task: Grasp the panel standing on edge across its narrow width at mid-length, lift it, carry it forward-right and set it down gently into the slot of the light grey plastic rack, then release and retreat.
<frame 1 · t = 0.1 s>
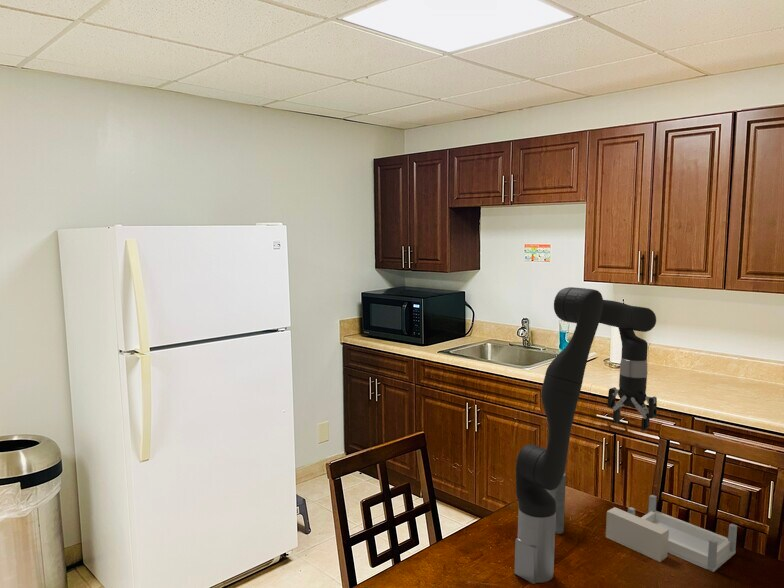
hand: (630, 426, 177), 29 cm above the table, fingers open, 8 cm apart
panel: (635, 547, 165), on the table
rack: (679, 543, 166), on the table
hip flask: (550, 520, 180), on the table
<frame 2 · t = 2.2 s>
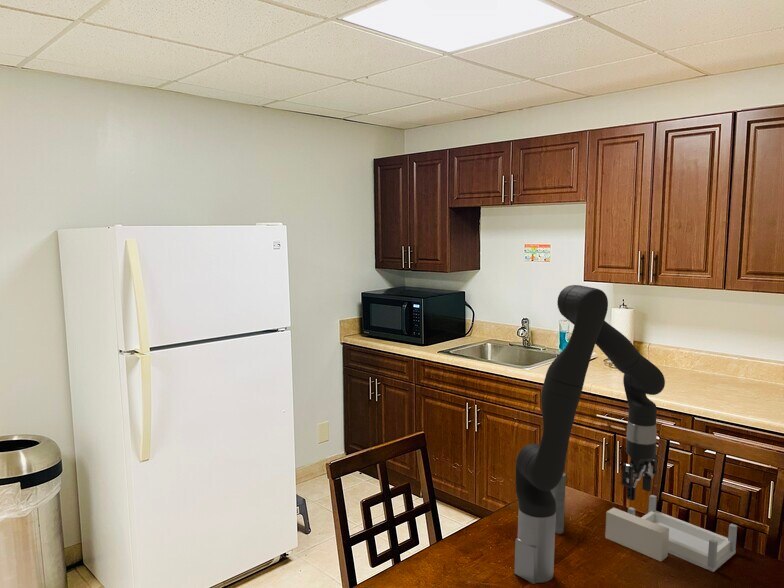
hand: (638, 494, 163), 15 cm above the table, fingers open, 8 cm apart
nothing on the table moved.
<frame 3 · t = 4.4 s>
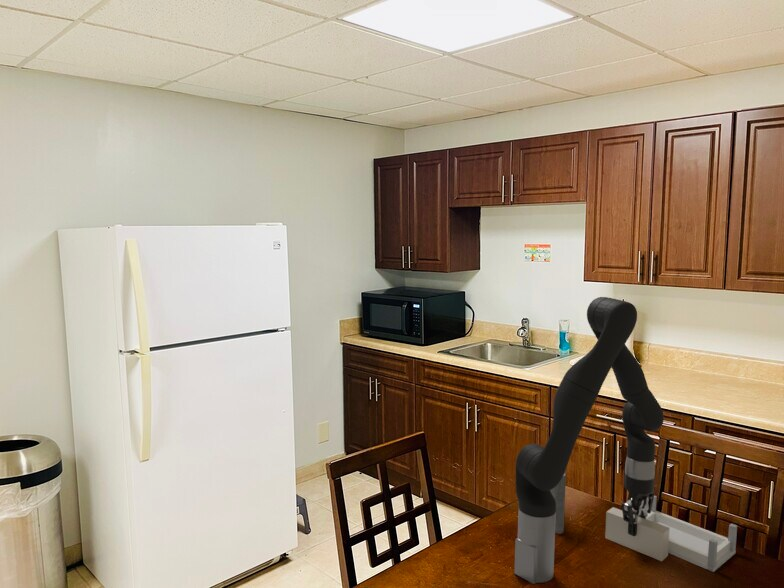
hand: (636, 531, 164), 4 cm above the table, fingers closed on panel, 4 cm apart
panel: (635, 546, 165), on the table, touching gripper
everything else where it was.
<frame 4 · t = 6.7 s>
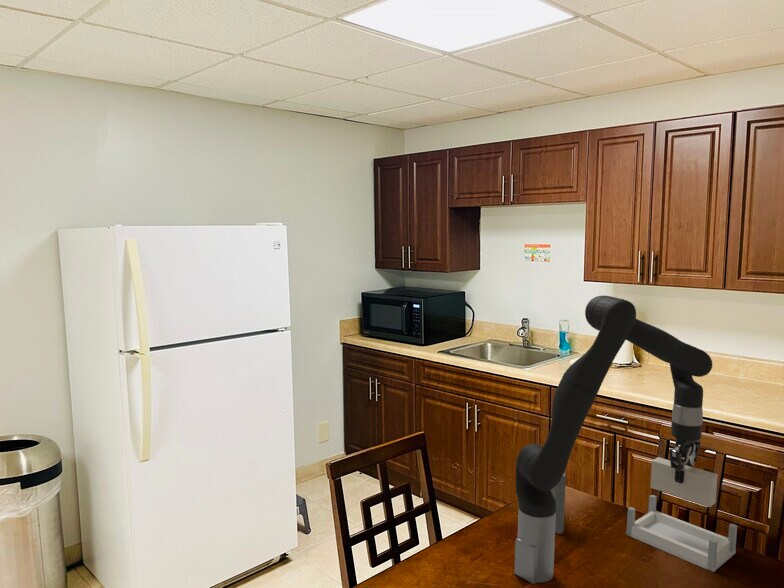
hand: (683, 479, 164), 19 cm above the table, fingers closed on panel, 4 cm apart
panel: (682, 494, 165), point 14 cm above the table, touching gripper
everything else where it was.
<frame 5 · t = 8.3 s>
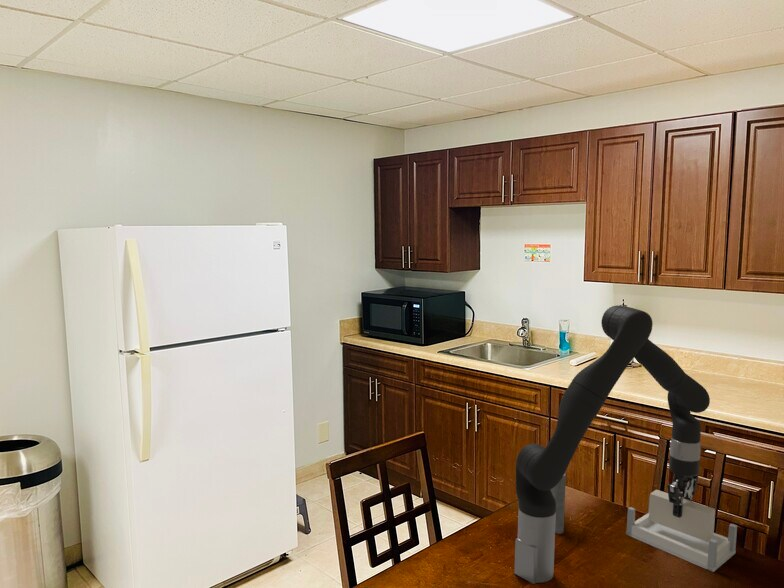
hand: (681, 513, 165), 9 cm above the table, fingers closed on panel, 4 cm apart
panel: (680, 528, 166), point 5 cm above the table, touching gripper
everything else where it was.
when the fingers open (7 cm above the table, at t = 9.5 s): panel drops 2 cm, resting on rack.
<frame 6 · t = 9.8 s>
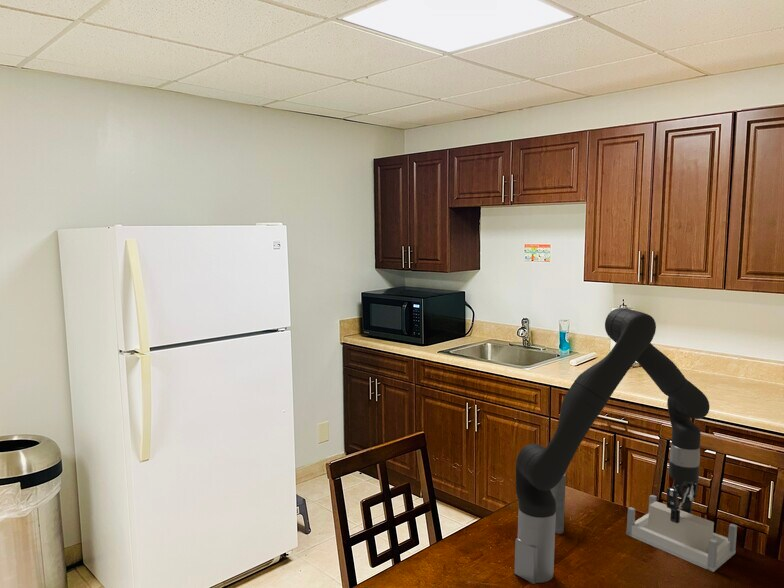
hand: (680, 517, 166), 8 cm above the table, fingers open, 6 cm apart
panel: (679, 540, 166), point 1 cm above the table, touching rack
everything else where it was.
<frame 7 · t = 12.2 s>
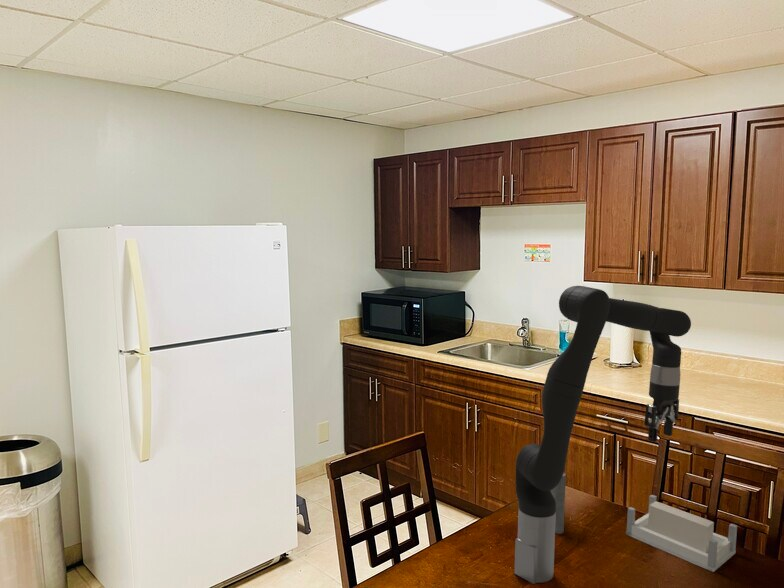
hand: (660, 437, 165), 30 cm above the table, fingers open, 8 cm apart
nothing on the table moved.
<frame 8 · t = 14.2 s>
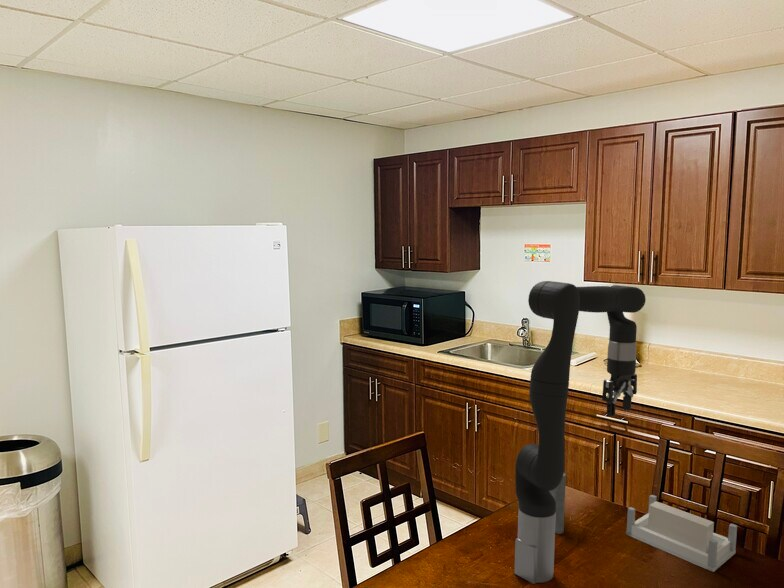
hand: (618, 412, 168), 36 cm above the table, fingers open, 8 cm apart
nothing on the table moved.
at the end: panel inside the target area on the rack (0.1 cm from its centre), point 1.0 cm above the rack's base; panel tilted 0°; the gripper is holding nothing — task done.
